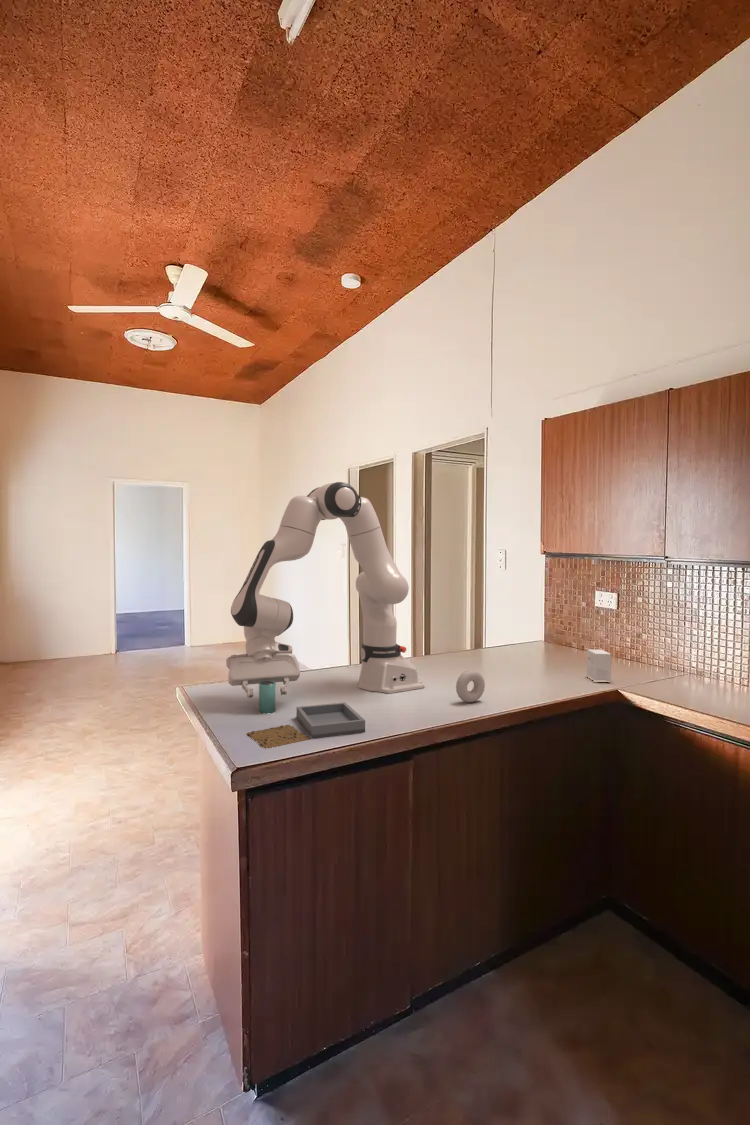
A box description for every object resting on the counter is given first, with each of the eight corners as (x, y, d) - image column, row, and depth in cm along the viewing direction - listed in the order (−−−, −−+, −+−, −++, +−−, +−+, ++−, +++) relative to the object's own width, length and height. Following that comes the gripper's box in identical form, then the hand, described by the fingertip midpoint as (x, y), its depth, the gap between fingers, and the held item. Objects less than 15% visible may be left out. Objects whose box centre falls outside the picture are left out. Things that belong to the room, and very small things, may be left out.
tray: (345, 712, 153) (345, 702, 153) (365, 732, 138) (365, 720, 138) (296, 717, 148) (296, 706, 148) (311, 738, 133) (311, 726, 133)
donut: (479, 698, 169) (480, 667, 169) (486, 702, 166) (487, 669, 166) (453, 702, 165) (454, 670, 164) (459, 705, 162) (460, 672, 161)
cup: (273, 708, 156) (273, 680, 155) (276, 713, 151) (277, 684, 151) (257, 709, 154) (258, 681, 154) (260, 714, 150) (260, 685, 149)
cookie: (264, 751, 125) (264, 747, 125) (245, 735, 135) (245, 731, 135) (310, 741, 132) (310, 737, 132) (288, 726, 142) (288, 722, 142)
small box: (610, 683, 192) (611, 654, 191) (594, 683, 192) (595, 653, 191) (601, 677, 200) (602, 649, 199) (586, 677, 200) (587, 649, 199)
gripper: (226, 649, 155) (230, 692, 146) (297, 645, 162) (304, 686, 154) (224, 661, 159) (228, 704, 150) (293, 657, 167) (300, 697, 158)
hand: (267, 695), depth 152 cm, fingers open, 8 cm apart
